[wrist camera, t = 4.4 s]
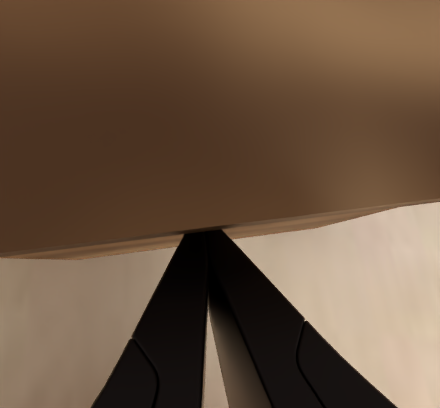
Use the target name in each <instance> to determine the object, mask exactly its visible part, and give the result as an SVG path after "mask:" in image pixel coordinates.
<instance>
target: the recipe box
mask: <svg viewBox="0 0 440 408" xmlns="http://www.w3.org/2000/svg"><path fill="white" fill-rule="evenodd" d="M434 202H440V0H0V258H20V259H68V260H79V259H87V258H94V257H102V256H109V255H117V254H124V253H132V252H139V251H147V250H155V249H162V248H170V247H177V246H178V245H179V243H180V241H181V239H182V237H183V235H184V234H189V233H197V232H205V231H213V230H221V229H222V230H223V231H224V232H225V233H226V234H227V235H228V236H229V237H230V239H238V238H245V237H253V236H260V235H268V234H275V233H283V232H290V231H298V230H305V229H313V228H319V227H322V226H326V225H330V224H334V223H338V222H342V221H346V220H350V219H354V218H358V217H362V216H366V215H370V214H374V213H378V212H381V211H385V210H389V209H393V208H397V207H402V206H410V205H418V204H426V203H434Z"/></svg>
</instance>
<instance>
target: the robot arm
mask: <svg viewBox="0 0 440 408" xmlns="http://www.w3.org/2000/svg"><path fill="white" fill-rule="evenodd" d="M208 310H209V316H210V321H211V326H212V331H213V335H214V340H215V345H216V349H217V354H218V359H219V363H220V368H221V372H222V377H223V382H224V386H225V391H226V396H227V400H228V405H229V408H397V407H396V406H395V405H394V404H393V403H392V402H391V401H390V400H389V399H387V398H386V397H385V396H384V395H383V394H382V393H381V392H380V391H379V390H377V389H376V388H375V387H374V386H373V385H372V384H371V383H370V382H368V381H367V380H366V379H365V378H364V377H363V376H362V375H361V374H360V373H359V372H358V371H357V370H356V369H355V368H353V367H352V366H351V365H350V364H349V363H348V362H347V361H346V360H345V359H344V358H343V357H342V356H341V355H340V354H339V353H338V352H337V351H336V350H335V349H334V348H333V347H332V346H331V345H330V344H329V343H328V342H327V341H326V340H325V339H324V338H323V337H322V336H321V335H320V334H319V333H318V332H317V331H316V330H315V329H314V327H313V326H312V325H311V324H310V323H309V322H308V321H305V318H304V317H303V316H302V315H301V314H300V313H299V311H298V310H297V309H296V308H295V307H294V306H293V305H292V304H291V303H290V302H289V301H288V300H287V299H286V298H285V296H284V295H283V294H282V293H281V292H280V291H279V290H278V289H277V288H276V287H275V286H274V285H273V284H272V283H271V281H270V280H269V279H268V278H267V277H266V276H265V275H264V274H263V273H262V272H261V271H260V270H259V269H258V267H257V266H256V265H255V264H254V263H253V262H252V261H251V260H250V259H249V258H248V257H247V256H246V255H245V254H244V252H243V251H242V250H241V249H240V248H239V247H238V246H237V245H236V244H235V243H234V242H233V241H232V240H231V239H230V237H229V236H228V235H227V234H226V233H225V232H224V231H223V230H222V229H221V230H213V231H205V232H197V233H189V234H184V235H183V237H182V239H181V241H180V243H179V245H178V247H177V249H176V251H175V253H174V255H173V257H172V259H171V261H170V262H169V264H168V266H167V268H166V270H165V272H164V274H163V276H162V278H161V280H160V282H159V284H158V286H157V288H156V289H155V291H154V293H153V295H152V297H151V299H150V301H149V303H148V305H147V307H146V309H145V311H144V313H143V315H142V316H141V318H140V320H139V322H138V324H137V326H136V328H135V330H134V332H133V334H132V339H130V340H129V341H128V343H127V345H126V347H125V349H124V351H123V353H122V355H121V357H120V358H119V360H118V362H117V364H116V366H115V367H114V369H113V371H112V373H111V375H110V376H109V378H108V380H107V382H106V384H105V385H104V387H103V389H102V390H101V392H100V393H99V395H98V397H97V398H96V400H95V401H94V403H93V405H92V406H91V408H204V393H205V367H206V341H207V311H208ZM304 321H305V322H304Z"/></svg>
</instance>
